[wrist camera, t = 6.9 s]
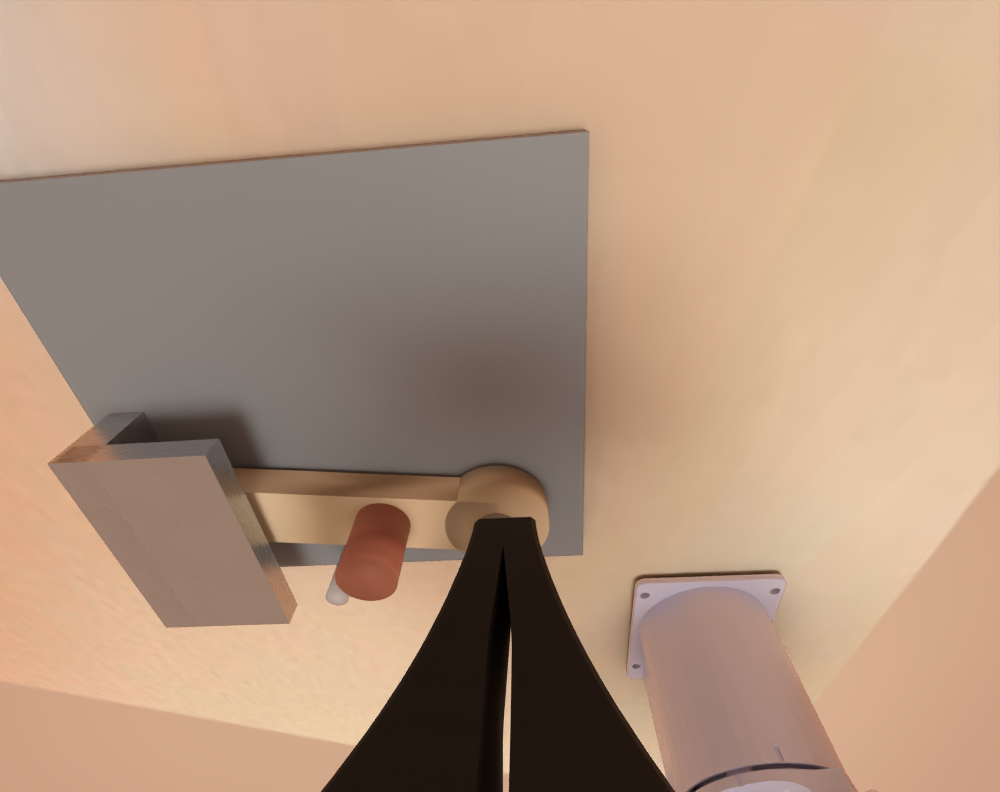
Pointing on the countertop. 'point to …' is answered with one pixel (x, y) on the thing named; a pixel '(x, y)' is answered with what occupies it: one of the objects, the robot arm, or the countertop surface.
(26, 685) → the countertop surface
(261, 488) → the latch
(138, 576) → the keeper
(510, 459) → the board
